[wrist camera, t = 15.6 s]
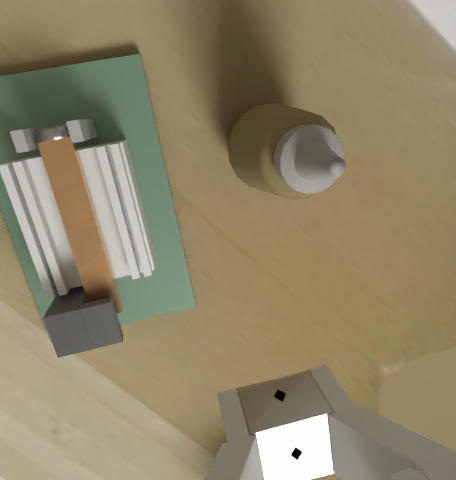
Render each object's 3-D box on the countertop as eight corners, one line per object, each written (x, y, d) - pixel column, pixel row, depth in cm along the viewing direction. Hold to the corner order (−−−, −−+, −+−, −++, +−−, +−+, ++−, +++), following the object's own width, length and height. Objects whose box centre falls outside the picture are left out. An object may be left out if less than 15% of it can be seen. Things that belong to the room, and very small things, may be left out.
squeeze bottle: (287, 93, 38) (389, 74, 21) (305, 170, 41) (407, 208, 24) (211, 118, 37) (253, 119, 21) (234, 194, 40) (287, 250, 23)
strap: (37, 129, 31) (32, 129, 29) (70, 123, 31) (66, 123, 30) (96, 312, 36) (93, 319, 35) (123, 305, 36) (121, 312, 35)
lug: (64, 280, 39) (42, 317, 32) (119, 268, 39) (110, 302, 32) (76, 313, 40) (57, 357, 33) (129, 301, 41) (122, 342, 33)
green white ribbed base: (-42, 84, 33) (-98, 75, 26) (140, 55, 35) (135, 39, 28) (52, 336, 42) (30, 381, 35) (195, 303, 43) (202, 339, 36)
